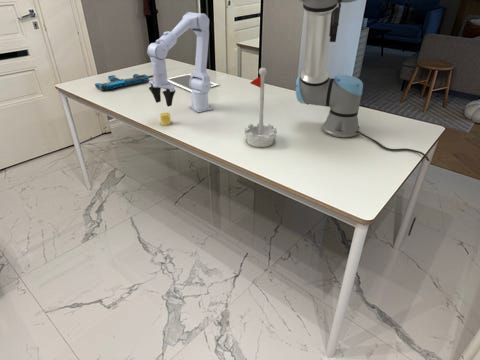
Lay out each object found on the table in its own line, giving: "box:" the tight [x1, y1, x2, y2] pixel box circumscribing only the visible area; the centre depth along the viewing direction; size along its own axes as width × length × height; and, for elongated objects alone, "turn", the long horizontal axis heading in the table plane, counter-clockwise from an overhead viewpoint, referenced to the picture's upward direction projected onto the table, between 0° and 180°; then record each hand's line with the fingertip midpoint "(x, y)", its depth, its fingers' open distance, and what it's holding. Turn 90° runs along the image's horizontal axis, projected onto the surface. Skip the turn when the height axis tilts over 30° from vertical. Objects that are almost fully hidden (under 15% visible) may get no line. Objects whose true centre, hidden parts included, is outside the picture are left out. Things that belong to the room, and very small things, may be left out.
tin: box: [159, 112, 172, 126], centre depth 156 cm, size 4×4×4 cm
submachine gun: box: [94, 73, 154, 91], centre depth 208 cm, size 34×4×25 cm
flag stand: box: [244, 67, 278, 148], centre depth 133 cm, size 13×13×30 cm
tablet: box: [167, 73, 220, 93], centre depth 208 cm, size 32×20×1 cm, turn 41°
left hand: (163, 103), depth 152 cm, fingers open, 7 cm apart
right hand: (331, 39), depth 166 cm, fingers open, 13 cm apart
